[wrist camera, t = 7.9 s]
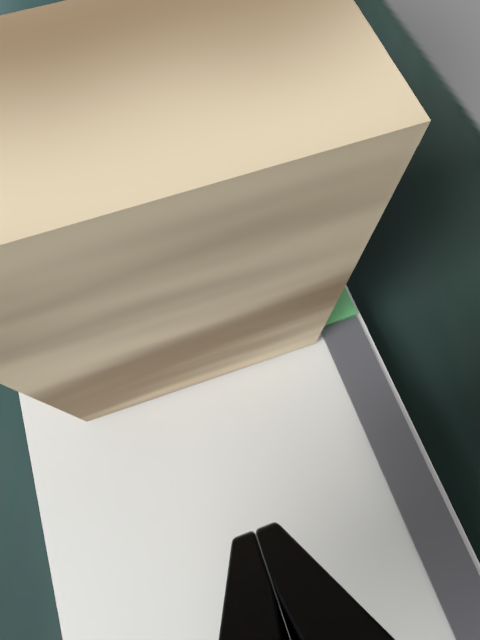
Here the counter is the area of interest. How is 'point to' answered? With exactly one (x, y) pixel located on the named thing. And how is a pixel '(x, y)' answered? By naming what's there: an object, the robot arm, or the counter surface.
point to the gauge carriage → (184, 187)
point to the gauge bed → (251, 497)
